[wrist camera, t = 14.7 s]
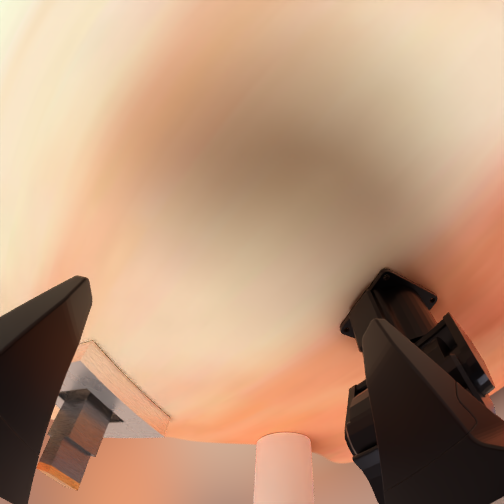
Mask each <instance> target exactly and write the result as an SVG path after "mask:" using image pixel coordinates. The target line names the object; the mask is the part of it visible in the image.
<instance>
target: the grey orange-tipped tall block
mask: <svg viewBox="0 0 504 504" xmlns="http://www.w3.org/2000/svg"><path fill="white" fill-rule="evenodd" d="M112 414H113V412H112V411H111V410H110V409H109V408H108V407H107V406H106V405H104V404H103V403H102V402H101V401H100V400H99V399H98V398H97V397H96V396H95V395H93V394H92V393H91V392H90V391H89V390H88V389H87V388H86V389H78V390H70V392H69V394H68V395H67V397H66V399H65V401H64V403H63V405H62V407H61V409H60V411H59V412H58V414H57V416H56V418H55V420H54V422H53V424H52V426H51V428H50V430H49V432H48V435H49V436H50V439H49V441H48V443H47V445H46V448H45V450H44V452H43V454H42V456H41V458H40V461H39V463H38V465H37V469H38V470H40V471H41V472H43V473H44V474H45V475H47V476H48V477H50V478H52V479H53V480H55V481H56V482H58V483H59V484H61V485H63V486H65V487H68V488H71V489H74V490H78V488H79V485H80V482H81V480H82V477H83V474H84V472H85V469H86V466H87V463H88V460H89V458H90V456H94V457H96V454H97V452H98V449H99V446H100V444H101V441H102V439H103V436H104V434H105V431H106V429H107V426H108V424H109V421H110V419H111V416H112Z"/></svg>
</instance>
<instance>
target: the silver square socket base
mask: <svg viewBox="0 0 504 504" xmlns="http://www.w3.org/2000/svg"><path fill="white" fill-rule="evenodd" d="M86 388H87V389H88V390H89V391H90V392H91V393H92V394H93V395H95V396H96V397H97V398H98V399H99V400H100V401H101V402H102V403H103V404H104V405H106V406H107V407H108V408H109V409H110V410H111V411H112V412H113V414H112V416H111V419H110V421H109V424H108V426H107V429H106V431H105V434H104V436H103V437H104V438H154V437H155V438H156V437H165V434H166V430H167V427H168V423H169V419H170V417H169V416H168V415H166V414H165V413H164V412H163V411H162V410H161V409H160V408H158V407H157V406H156V405H155V404H154V403H153V402H152V401H151V400H150V399H149V398H148V397H146V396H145V395H144V394H143V393H142V392H141V391H140V390H139V389H138V388H137V387H136V386H135V385H134V384H133V383H132V382H131V381H130V380H129V379H128V378H127V377H126V376H125V375H124V374H123V373H122V372H121V371H120V370H119V369H118V368H117V367H116V366H115V365H114V364H113V363H112V361H111V360H110V359H109V358H108V357H107V356H106V355H105V354H104V353H103V352H102V350H101V349H100V348H99V347H98V346H97V345H96V344H95V343H94V341H93V340H92V341H89V342H86V343H83V344H80V345H78V348H77V350H76V352H75V355H74V357H73V360H72V362H71V364H70V367H69V369H68V372H67V374H66V377H65V379H64V382H63V385H62V387H61V390H60V392H59V395H58V398H57V401H56V403H55V405H57V406H58V407H59V408H60V409H61V407H62V405H63V403H64V401H65V399H66V397H67V395H68V394H69V392H70V390H78V389H86Z"/></svg>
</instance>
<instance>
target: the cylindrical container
mask: <svg viewBox="0 0 504 504" xmlns="http://www.w3.org/2000/svg"><path fill="white" fill-rule="evenodd" d="M253 504H314V489H313V470H312V453H311V440H310V439H309V438H308V437H307V436H305V435H302V434H299V433H291V432H281V433H273V434H269V435H266V436H264V437H262V438H260V439H259V440H258V441H257V448H256V466H255V482H254V498H253Z"/></svg>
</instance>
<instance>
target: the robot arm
mask: <svg viewBox="0 0 504 504" xmlns="http://www.w3.org/2000/svg"><path fill="white" fill-rule="evenodd" d="M387 274H388V276H387V277H385V278H384V276H385V275H387ZM432 298H433V299H432ZM431 299H432V300H431ZM436 301H437V296H436V295H435V294H434V293H433V292H431V291H429V290H427V289H425V288H424V287H422V286H420V285H418V284H416V283H414V282H412V281H410V280H408V279H406V278H405V277H403V276H401V275H399V274H397V273H395V272H393V271H391V270H389V269H383V270H382V271H381V272H380V273H379V274H378V276H377V277H376V279H375V280H374V281H373V283H372V284H371V286H370V287H369V288H368V290H367V291H365V293H364V294H363V295H362V297H361V298H360V299H359V301H358V302H357V303H356V305H355V306H354V307H353V309H352V310H351V311H350V313H349V315H348V316H347V318H346V319H345V320H344V322H343V323H342V324H341V326H340V331H341V333H342V334H344V335H347V336H350V337H353V338H356V341H357V345H358V348H359V351H360V352H362V353H363V357H364V365H365V375H366V379H365V380H364V381H362V382H361V383H359V384H358V385H354V386H353V387H351V388H350V389H349V397H348V406H347V414H346V422H345V440H346V442H347V445H348V447H349V449H350V451H351V453H352V454H353V461H354V462H355V463H356V465H357V466H358V467H359V468H360V469H361V470H362V471H363V473H364V474H365V476H366V477H367V479H368V481H369V483H370V485H371V487H372V489H373V491H374V494H375V496H376V499H377V501H378V503H379V504H504V421H503V420H502V419H501V418H500V417H498V416H497V415H496V413H495V407H494V405H493V403H492V401H491V399H490V397H489V395H488V393H489V392H490V391H492V390H493V389H494V388H495V385H494V383H493V381H492V378H491V376H490V374H489V371H488V369H487V367H486V365H485V363H484V361H483V359H482V358H481V356H480V354H479V353H478V351H477V350H476V348H475V346H474V345H473V343H472V342H471V340H470V339H469V338H468V336H467V335H466V334H465V332H464V331H463V330H462V328H461V327H460V326H459V325H458V323H457V322H456V321H455V320H454V318H453V317H452V316H451V315H450V313H449V312H448V313H447V314H446V315H445V316H444V317H443V320H441V321H440V322H439V323H438V324H437V323H436V321H435V319H434V318H433V316H432V315H431V313H430V311H429V310H430V309H431V308H432V307H433V305H434V304H435V303H436ZM91 306H92V294H91V288H90V282H89V279H88V278H86V277H82V276H74V277H72V278H70V279H69V280H67V281H65V282H63V283H61V284H59V285H57V286H55V287H53V288H51V289H50V290H48V291H46V292H44V293H42V294H40V295H39V296H37V297H35V298H33V299H31V300H29V301H28V302H26V303H24V304H22V305H20V306H19V307H17V308H15V309H13V310H12V311H10V312H8V313H6V314H5V315H3V316H1V317H0V497H1V498H3V499H5V500H7V501H9V502H10V503H12V504H28V500H29V495H30V491H31V486H32V482H33V477H34V473H35V469H36V465H37V462H38V458H39V456H38V455H39V453H40V450H41V447H42V443H43V440H44V436H45V433H46V430H47V427H48V424H49V421H50V418H51V415H52V412H53V409H54V406H55V403H56V401H57V398H58V395H59V392H60V390H61V387H62V385H63V382H64V379H65V377H66V374H67V372H68V369H69V367H70V364H71V362H72V360H73V357H74V355H75V352H76V350H77V348H78V345H79V342H80V339H81V336H82V333H83V330H84V327H85V324H86V321H87V318H88V315H89V312H90V309H91ZM345 328H347V329H345Z"/></svg>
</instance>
